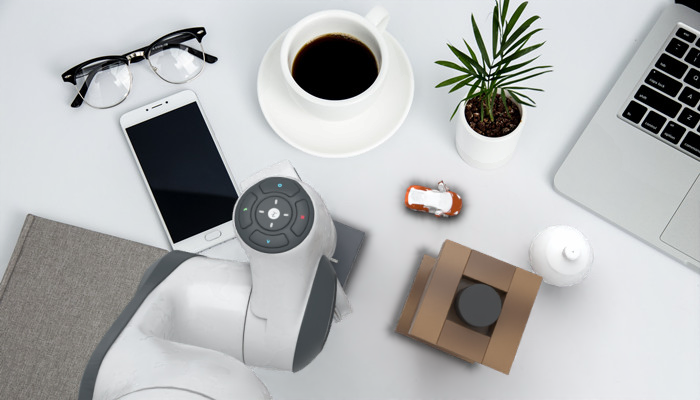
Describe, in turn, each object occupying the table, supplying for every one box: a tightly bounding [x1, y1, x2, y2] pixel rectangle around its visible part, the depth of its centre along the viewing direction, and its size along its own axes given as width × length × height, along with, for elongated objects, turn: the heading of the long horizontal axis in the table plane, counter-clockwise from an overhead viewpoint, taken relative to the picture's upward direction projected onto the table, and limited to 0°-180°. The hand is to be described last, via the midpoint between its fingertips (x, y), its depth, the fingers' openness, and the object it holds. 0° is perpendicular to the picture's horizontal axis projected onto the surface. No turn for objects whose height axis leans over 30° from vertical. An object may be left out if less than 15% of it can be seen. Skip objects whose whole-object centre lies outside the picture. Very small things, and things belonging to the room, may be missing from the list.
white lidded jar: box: [528, 224, 594, 288], centre depth 78 cm, size 8×8×12 cm
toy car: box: [404, 179, 463, 219], centre depth 84 cm, size 5×8×3 cm, turn 78°
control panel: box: [330, 219, 366, 290], centre depth 83 cm, size 10×12×3 cm
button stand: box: [394, 238, 543, 376], centre depth 71 cm, size 11×11×24 cm
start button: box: [455, 284, 502, 327], centre depth 59 cm, size 4×4×3 cm
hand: (309, 250), depth 82 cm, fingers open, 7 cm apart
